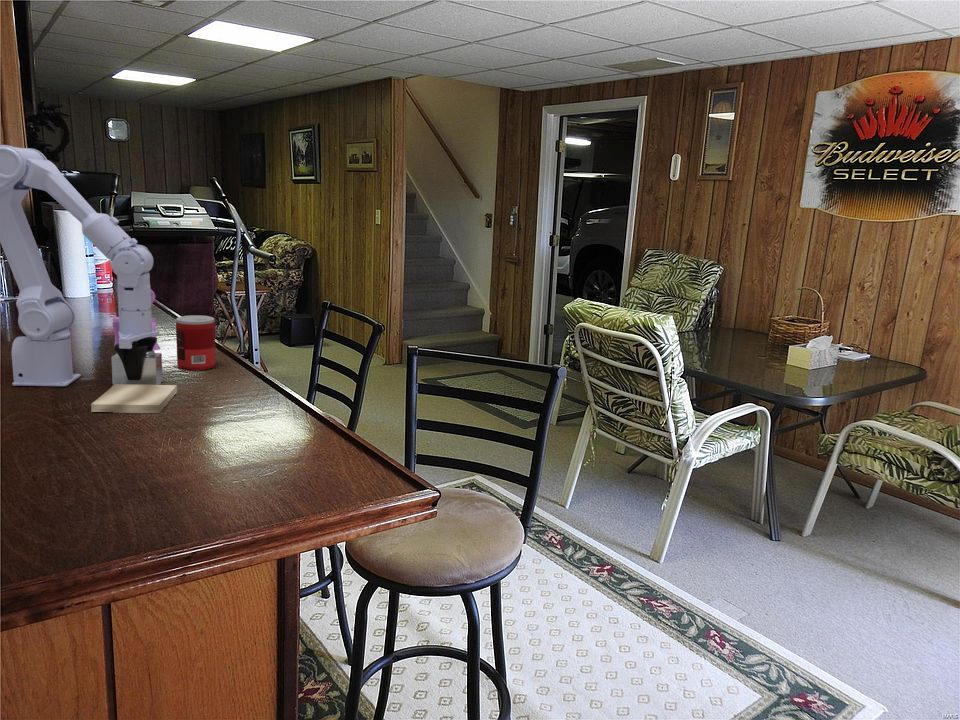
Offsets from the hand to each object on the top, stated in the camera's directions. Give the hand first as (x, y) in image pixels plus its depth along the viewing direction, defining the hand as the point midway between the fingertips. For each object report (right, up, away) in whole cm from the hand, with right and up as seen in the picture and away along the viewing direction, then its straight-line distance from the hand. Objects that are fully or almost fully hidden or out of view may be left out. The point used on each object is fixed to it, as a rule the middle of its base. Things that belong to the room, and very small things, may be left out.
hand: (137, 376), depth 138 cm
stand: (+5, -4, -11) cm, 12 cm away
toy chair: (-15, +6, +29) cm, 33 cm away
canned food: (+5, +2, +16) cm, 17 cm away
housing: (0, -2, 0) cm, 2 cm away
